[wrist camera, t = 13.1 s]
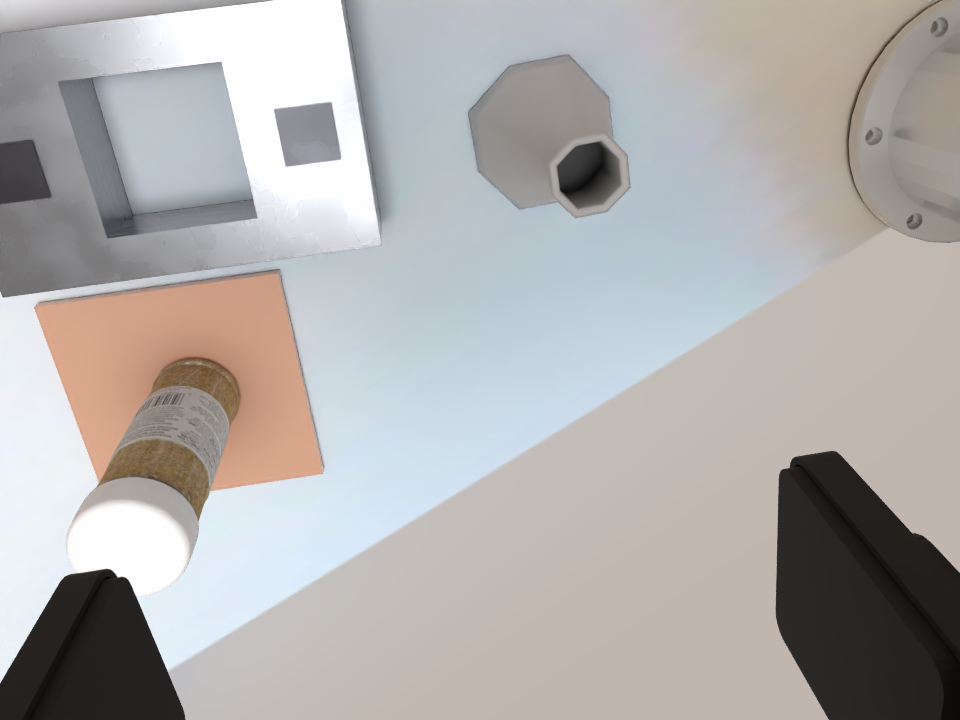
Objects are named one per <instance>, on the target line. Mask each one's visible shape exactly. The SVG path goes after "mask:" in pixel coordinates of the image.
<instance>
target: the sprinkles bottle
mask: <svg viewBox="0 0 960 720" xmlns="http://www.w3.org/2000/svg"><path fill="white" fill-rule="evenodd" d="M239 404H240V395H239V389H238V387H237V385H236V382H235V380H234V379H233V377H232V376H231V375H230V374H229V373H228V371H226V370H225V369H223V368H222V367H221V366H219V365H216V364H214V363H212V362H210V361H206V360H203V359H197V358H195V359H184V360H181V361H176V362H174V363H172V364H170V365H169V366H167V367H165V368H164V369H163V370H162V371H161V372H160V373H159V375H158V376H157V378H156V379H155V380H154V382H153V385H152V390H151V393H150V394H149V396H148V397H147V398H146V399H145V401H144V402H143V403H142V405H141V406H140V408H139V410H138V411H137V413H136V415H135V416H134V418H133V420H132V421H131V423H130V425H129V427H128V429H127V430H126V432H125V434H124V436H123V437H122V439H121V441H120V443H119V444H118V446H117V448H116V450H115V451H114V453H113V455H112V457H111V459H110V461H109V463H108V466H107V469H106V471H105V473H104V475H103V477H102V479H101V481H100V483H99V484H98V486H97V487H96V488H95V489H94V490H93V491H92V492H91V493H90V494H89V495H88V496H87V497H86V499H85V500H84V501H83V503H82V505H81V506H80V508H79V510H78V512H77V513H76V515H75V517H74V519H73V521H72V523H71V525H70V528H69V530H68V533H67V538H66V550H67V555H68V558H69V560H70V563H71V565H72V566H73V568H74V569H75V571H76V572H77V573H83V572H89V571H95V570H101V569H111V570H112V571H113V572H115V574H116V575H117V577H126V578H127V579H128V580H129V582H130V584H131V586H132V588H133V590H134V593H135V595H136V596H143V595H148V594H152V593H155V592H158V591H161V590H163V589H165V588H167V587H168V586H170V585H171V584H173V583H174V582H175V581H176V580H178V578H179V577H180V576H181V575H182V574H183V572H184V571H185V569H186V567H187V565H188V563H189V561H190V558H191V555H192V553H193V550H194V547H195V544H196V541H197V537H198V530H199V526H198V521H199V518H200V514H201V512H202V508H203V506H204V503H205V501H206V499H207V498H208V496H209V493H210V490H211V487H212V484H213V481H214V478H215V475H216V472H217V469H218V466H219V463H220V460H221V457H222V454H223V451H224V448H225V445H226V442H227V439H228V435H229V429H230V426H231V423H232V421H233V420H234V418H235V416H236V415H237V412H238V408H239Z"/></svg>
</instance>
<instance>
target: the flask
mask: <svg viewBox="0 0 960 720" xmlns="http://www.w3.org/2000/svg"><path fill="white" fill-rule="evenodd" d="M468 114H469V120H470V125H471V131H472V137H473V143H474V148H475V154H476V160H477V165H478V171H479V173H480V174H482V175H483V176H484V177H485V178H486V179H487V180H488V181H489V182H490V183H491V184H492V185H493V186H494V187H496V188H497V189H498V190H499V191H500V192H501V193H502V194H503V195H504V196H505V197H506V198H507V199H508V200H510V201H511V202H512V203H513V204H514V205H515V206H516V207H517V208H518V209H519V210H520V209H525V208H530V207H535V206H540V205H545V204H550V203H555V202H559V203H560V204H561V205H562V206H563V207H564V208H565V209H566V210H567V211H568V212H569V213H570V214H571V215H572V216H573V217H575V218H579V217H584V216H588V215H593V214H598V213H603V212H607V211H608V210H609V209H610V208H611V207H612V206H613V205H614V204H615V203H616V202H617V201H618V200H619V199H620V198H621V197H622V196H623V195H624V194H625V193H626V192H627V191H628V190H629V189H630V177H629V166H628V156H627V154H626V153H625V152H624V151H623V150H622V149H621V148H620V147H619V146H618V145H617V144H616V143H615V142H614V141H613V131H612V121H611V111H610V101H609V97H608V96H607V95H606V93H605V92H604V91H603V90H602V89H601V88H600V87H599V86H598V85H597V84H596V83H595V82H594V81H593V80H592V79H591V78H590V77H589V75H588V74H587V73H586V72H585V71H584V70H583V69H582V68H581V67H580V66H579V65H578V64H577V63H576V62H575V61H574V60H573V59H572V57H571V56H570V55H564V56H559V57H554V58H549V59H544V60H539V61H533V62H528V63H523V64H518V65H513V66H509V67H508V68H507V70H506V71H505V72H504V73H503V74H502V75H501V76H500V77H499V79H498V80H497V81H496V82H495V83H494V84H493V85H492V87H491V88H490V89H489V90H488V91H487V92H486V93H485V94H484V96H483V97H482V98H481V99H480V100H479V101H478V102H477V104H476V105H475V106H474V107H473V108H472V109H471V110H470V111H469V113H468Z"/></svg>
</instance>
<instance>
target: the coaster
mask: <svg viewBox="0 0 960 720" xmlns="http://www.w3.org/2000/svg"><path fill="white" fill-rule="evenodd" d="M34 309H35V311H36V314H37V317H38V319H39V322H40V325H41V327H42V330H43V333H44V335H45V338H46V341H47V344H48V346H49V349H50V352H51V354H52V357H53V360H54V362H55V365H56V368H57V370H58V373H59V376H60V379H61V381H62V384H63V387H64V389H65V392H66V395H67V397H68V400H69V403H70V405H71V408H72V411H73V413H74V416H75V419H76V422H77V424H78V427H79V430H80V432H81V435H82V438H83V440H84V443H85V446H86V448H87V451H88V454H89V457H90V459H91V462H92V465H93V467H94V470H95V473H96V475H97V478H98V481H99V483H100V481H101V479H102V477H103V475H104V473H105V471H106V469H107V466H108V463H109V461H110V459H111V457H112V455H113V453H114V451H115V450H116V448H117V446H118V444H119V443H120V441H121V439H122V437H123V436H124V434H125V432H126V430H127V429H128V427H129V425H130V423H131V421H132V420H133V418H134V416H135V415H136V413H137V411H138V410H139V408H140V406H141V405H142V403H143V402H144V401H145V399H146V398H147V397H148V396H149V394H150V393H151V390H152V385H153V382H154V380H155V379H156V378H157V376H158V375H159V373H160V372H161V371H162V370H163V369H164V368H165V367H167V366H169V365H170V364H172V363H174V362H176V361H181V360H184V359H195V358H197V359H203V360H206V361H210V362H212V363H214V364H216V365H219V366H221V367H222V368H223V369H225V370H226V371H228V373H229V374H230V375H231V376H232V377H233V379H234V380H235V382H236V385H237V387H238V389H239V395H240V404H239V408H238V412H237V415H236V416H235V418H234V420H233V421H232V423H231V426H230V429H229V435H228V439H227V442H226V445H225V448H224V451H223V454H222V457H221V460H220V463H219V466H218V469H217V472H216V475H215V478H214V481H213V484H212V487H211V490H210V491H213V490H219V489H226V488H232V487H239V486H246V485H252V484H259V483H265V482H272V481H278V480H285V479H291V478H298V477H305V476H311V475H318V474H323V471H324V467H323V462H322V458H321V453H320V449H319V444H318V440H317V436H316V431H315V427H314V422H313V418H312V413H311V409H310V405H309V400H308V396H307V391H306V387H305V383H304V378H303V374H302V369H301V365H300V360H299V356H298V352H297V347H296V343H295V338H294V334H293V329H292V325H291V321H290V316H289V312H288V307H287V303H286V299H285V294H284V290H283V285H282V281H281V276H280V272H279V270H273V271H266V272H259V273H252V274H244V275H237V276H230V277H223V278H215V279H208V280H201V281H194V282H186V283H179V284H172V285H165V286H157V287H150V288H143V289H136V290H128V291H121V292H114V293H107V294H99V295H92V296H85V297H78V298H70V299H63V300H56V301H49V302H41V303H38V304H37V305H36V306H35V307H34Z"/></svg>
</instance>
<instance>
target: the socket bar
mask: <svg viewBox="0 0 960 720" xmlns="http://www.w3.org/2000/svg"><path fill="white" fill-rule="evenodd" d="M213 62H222V66H223V70H224V75H225V79H226V83H227V88H228V92H229V96H230V101H231V105H232V109H233V114H234V118H235V122H236V126H237V131H238V135H239V139H240V144H241V148H242V152H243V157H244V161H245V165H246V170H247V174H248V178H249V183H250V187H251V191H252V196H253V200H245V201H238V202H230V203H223V204H215V205H208V206H200V207H192V208H185V209H177V210H170V211H162V212H155V213H147V214H140V215H132V212H131V209H130V206H129V202H128V199H127V196H126V192H125V189H124V186H123V182H122V179H121V176H120V172H119V169H118V166H117V162H116V159H115V156H114V152H113V149H112V146H111V142H110V139H109V136H108V132H107V129H106V126H105V122H104V119H103V116H102V112H101V109H100V106H99V102H98V99H97V96H96V92H95V89H94V86H93V82H92V79H91V77H99V76H107V75H116V74H124V73H132V72H140V71H148V70H156V69H164V68H172V67H181V66H189V65H197V64H205V63H213ZM375 246H381V218H380V212H379V206H378V200H377V194H376V188H375V182H374V176H373V170H372V163H371V157H370V151H369V145H368V139H367V133H366V127H365V121H364V115H363V109H362V103H361V97H360V90H359V84H358V78H357V72H356V66H355V60H354V54H353V48H352V42H351V36H350V30H349V23H348V17H347V11H346V5H345V0H276V1H268V2H259V3H251V4H243V5H234V6H226V7H217V8H209V9H201V10H192V11H184V12H175V13H167V14H159V15H150V16H142V17H133V18H125V19H117V20H108V21H100V22H91V23H83V24H75V25H66V26H58V27H50V28H41V29H33V30H24V31H16V32H8V33H0V292H1V294H2V297H10V296H17V295H25V294H32V293H39V292H47V291H54V290H61V289H68V288H76V287H83V286H90V285H98V284H105V283H112V282H119V281H127V280H134V279H141V278H149V277H156V276H163V275H170V274H178V273H185V272H192V271H200V270H207V269H214V268H221V267H229V266H236V265H243V264H251V263H258V262H265V261H272V260H280V259H287V258H294V257H302V256H309V255H316V254H324V253H331V252H338V251H345V250H353V249H360V248H367V247H375Z"/></svg>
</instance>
